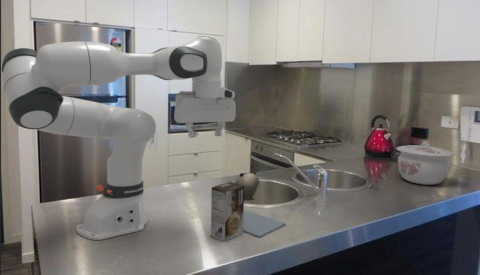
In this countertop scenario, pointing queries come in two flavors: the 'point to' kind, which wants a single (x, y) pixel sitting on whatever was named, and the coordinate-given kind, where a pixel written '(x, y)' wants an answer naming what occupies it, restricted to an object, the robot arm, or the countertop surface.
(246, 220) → the mat
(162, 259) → the countertop surface
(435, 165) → the chamber pot
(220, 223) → the coffee box
